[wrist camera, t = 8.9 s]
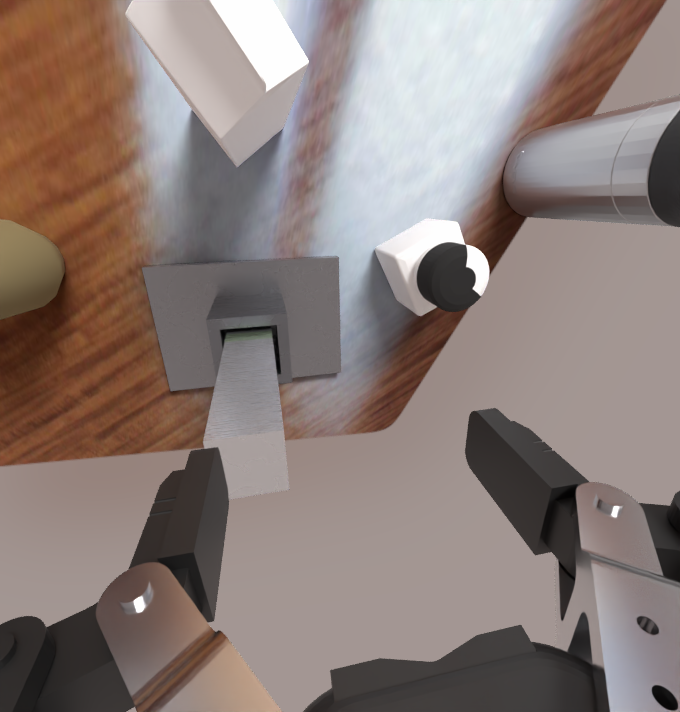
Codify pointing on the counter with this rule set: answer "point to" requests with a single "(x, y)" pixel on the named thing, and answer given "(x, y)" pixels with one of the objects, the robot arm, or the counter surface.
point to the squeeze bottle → (27, 269)
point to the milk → (226, 64)
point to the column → (248, 415)
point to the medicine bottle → (433, 267)
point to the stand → (246, 314)
